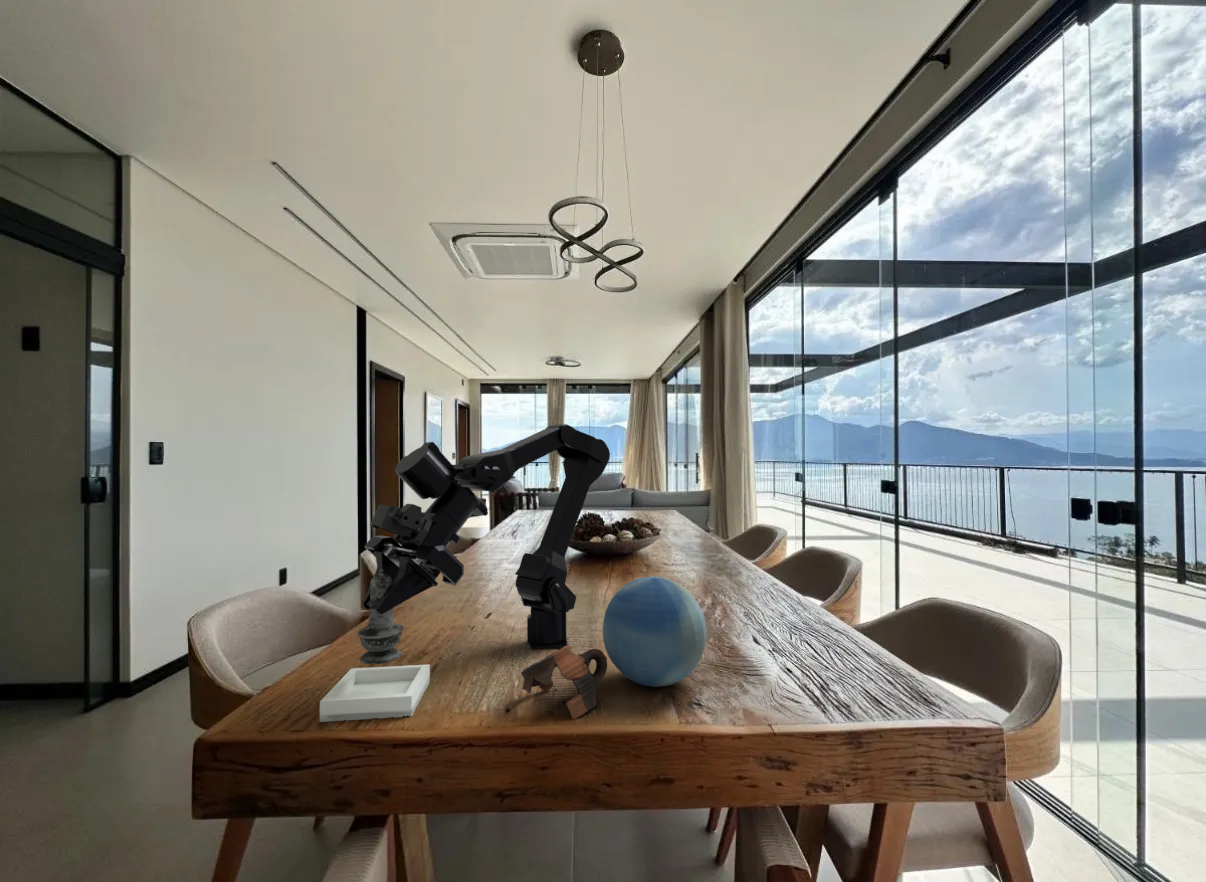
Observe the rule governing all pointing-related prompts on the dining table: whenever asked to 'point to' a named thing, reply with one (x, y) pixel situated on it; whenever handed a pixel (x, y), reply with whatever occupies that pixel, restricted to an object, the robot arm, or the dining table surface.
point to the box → (376, 693)
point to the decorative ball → (654, 631)
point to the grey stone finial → (380, 627)
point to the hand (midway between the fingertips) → (371, 609)
